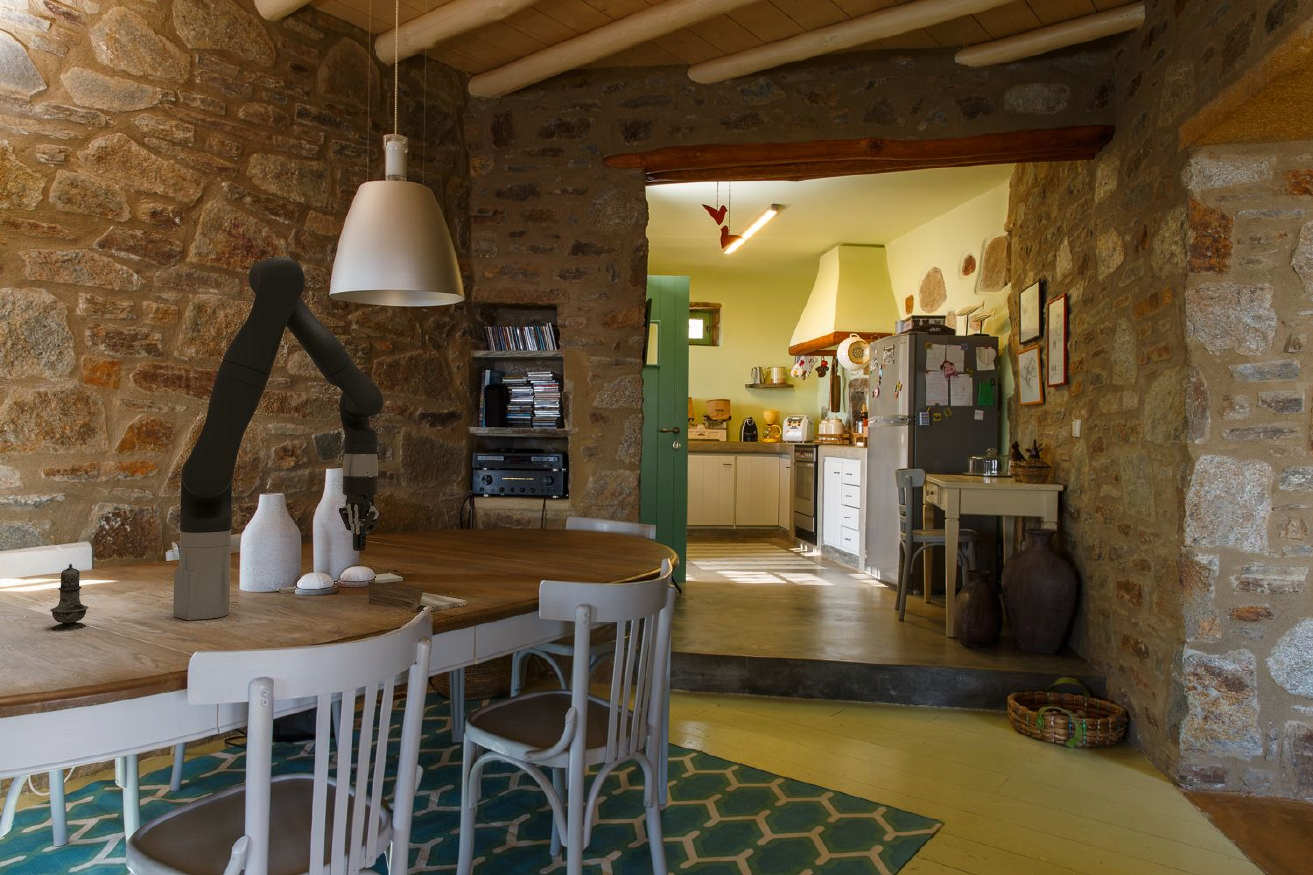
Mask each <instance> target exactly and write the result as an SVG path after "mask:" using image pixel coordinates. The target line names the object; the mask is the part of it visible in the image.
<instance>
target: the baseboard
mask: <svg viewBox="0 0 1313 875" xmlns="http://www.w3.org/2000/svg"><path fill="white" fill-rule="evenodd" d="M388 571H391V572H393V573H391V572H388ZM394 572H395V573H397V574H398V570H397V569H393V570H390V569H389V568H388V569H387V572H385V573H381V574H380V573H378V574H374V575H375V576H376V578H375V582H378V583H386V584H387V583H393V582H394V583H395V582H404V577H403V576H404V573H401V575H402V576H400V575H397V574H394ZM335 583H337V582H335ZM295 590H296V586H294V587H287V588H279V592H280V594H285V593H296V592H295ZM279 592H278V593H279Z"/></svg>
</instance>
